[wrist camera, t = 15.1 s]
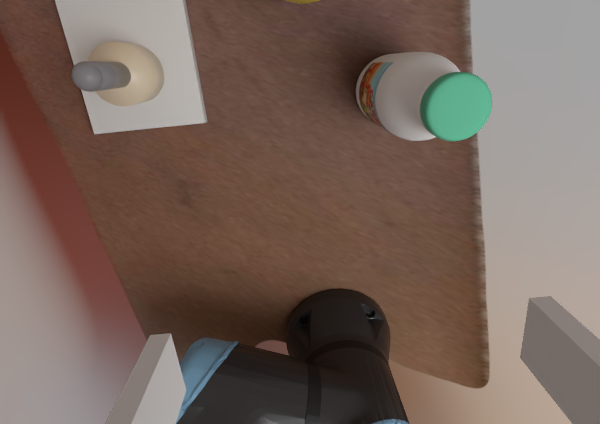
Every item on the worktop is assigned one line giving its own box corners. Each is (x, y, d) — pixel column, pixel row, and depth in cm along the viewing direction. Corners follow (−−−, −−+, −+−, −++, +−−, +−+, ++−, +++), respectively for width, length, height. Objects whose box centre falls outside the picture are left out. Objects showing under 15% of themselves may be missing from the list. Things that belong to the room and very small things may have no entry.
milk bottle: (384, 39, 42) (461, 19, 23) (434, 82, 44) (541, 95, 25) (341, 97, 44) (380, 121, 26) (390, 136, 46) (459, 184, 27)
